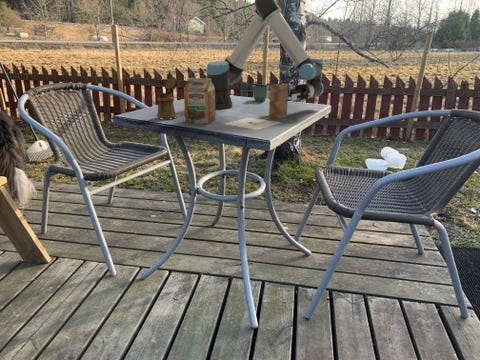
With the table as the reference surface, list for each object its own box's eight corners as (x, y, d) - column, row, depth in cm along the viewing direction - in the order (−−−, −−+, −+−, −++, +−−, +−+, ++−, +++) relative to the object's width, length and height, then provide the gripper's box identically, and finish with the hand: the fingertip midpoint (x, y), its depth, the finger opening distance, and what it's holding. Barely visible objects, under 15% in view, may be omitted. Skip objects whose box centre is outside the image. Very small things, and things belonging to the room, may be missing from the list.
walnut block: (268, 117, 174) (270, 85, 169) (276, 115, 179) (277, 83, 173) (279, 119, 171) (281, 86, 165) (286, 117, 175) (288, 84, 170)
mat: (260, 118, 174) (260, 118, 174) (274, 114, 183) (274, 114, 183) (281, 122, 167) (281, 121, 167) (295, 118, 176) (295, 117, 176)
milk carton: (215, 120, 170) (214, 77, 164) (208, 125, 161) (207, 79, 154) (193, 119, 172) (191, 76, 166) (185, 123, 163) (183, 79, 156)
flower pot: (266, 102, 219) (267, 86, 215) (251, 101, 220) (252, 86, 217) (268, 100, 227) (269, 85, 223) (254, 99, 228) (254, 84, 225)
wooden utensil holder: (183, 115, 181) (182, 76, 175) (170, 120, 169) (168, 79, 163) (167, 114, 184) (165, 76, 177) (153, 119, 172) (150, 79, 165)
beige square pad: (223, 124, 162) (223, 123, 162) (248, 117, 175) (248, 117, 175) (256, 130, 152) (256, 129, 152) (281, 123, 165) (281, 122, 165)
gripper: (325, 101, 180) (302, 107, 165) (282, 96, 195) (257, 101, 180) (326, 85, 178) (303, 90, 162) (282, 82, 193) (258, 85, 177)
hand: (279, 96), depth 171 cm, fingers open, 13 cm apart
